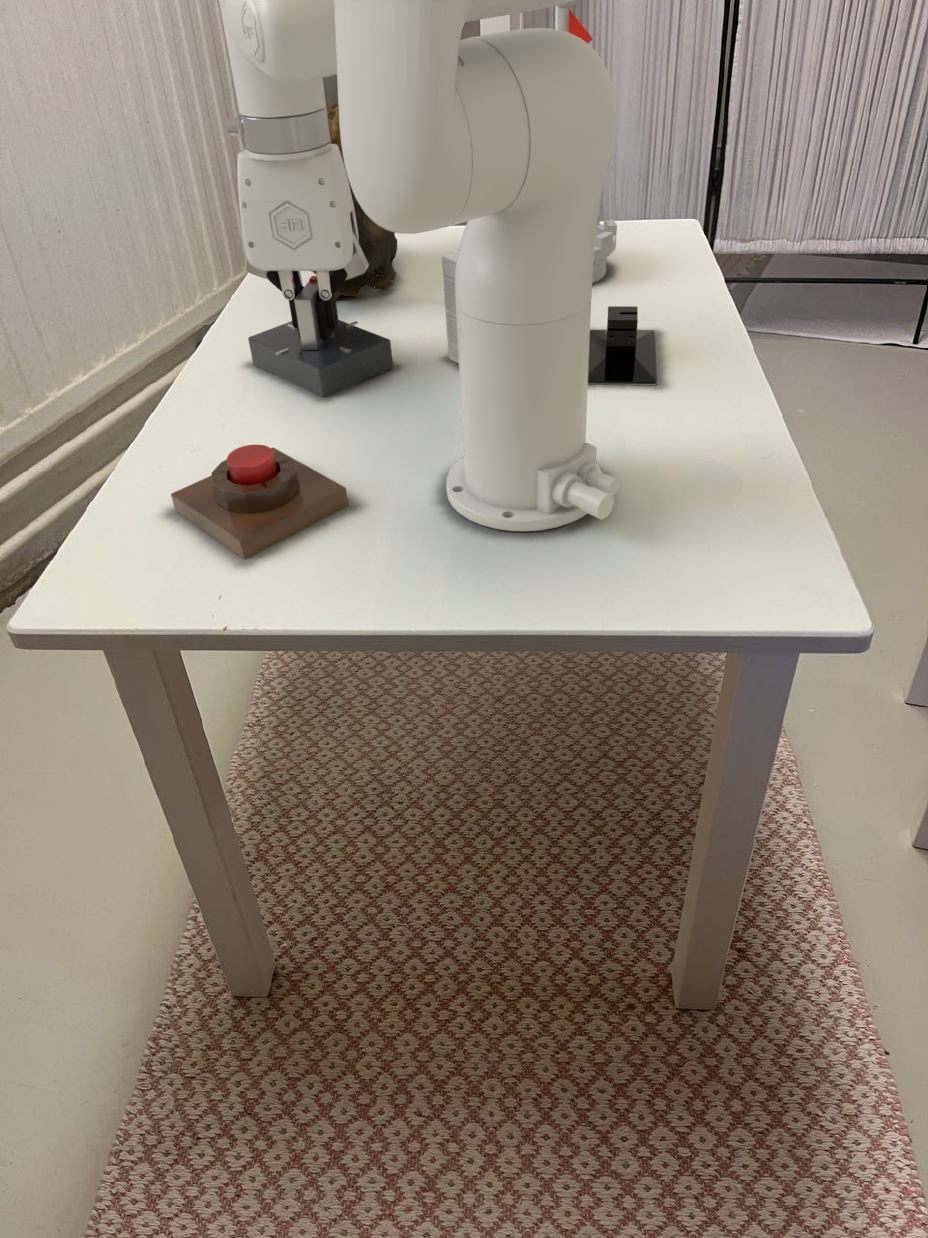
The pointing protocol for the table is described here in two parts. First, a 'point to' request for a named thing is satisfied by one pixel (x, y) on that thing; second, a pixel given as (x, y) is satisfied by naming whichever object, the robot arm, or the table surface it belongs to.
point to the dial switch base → (322, 357)
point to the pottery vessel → (366, 236)
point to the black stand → (622, 351)
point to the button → (252, 464)
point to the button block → (259, 505)
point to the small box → (450, 304)
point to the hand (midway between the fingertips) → (317, 333)
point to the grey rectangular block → (308, 315)
